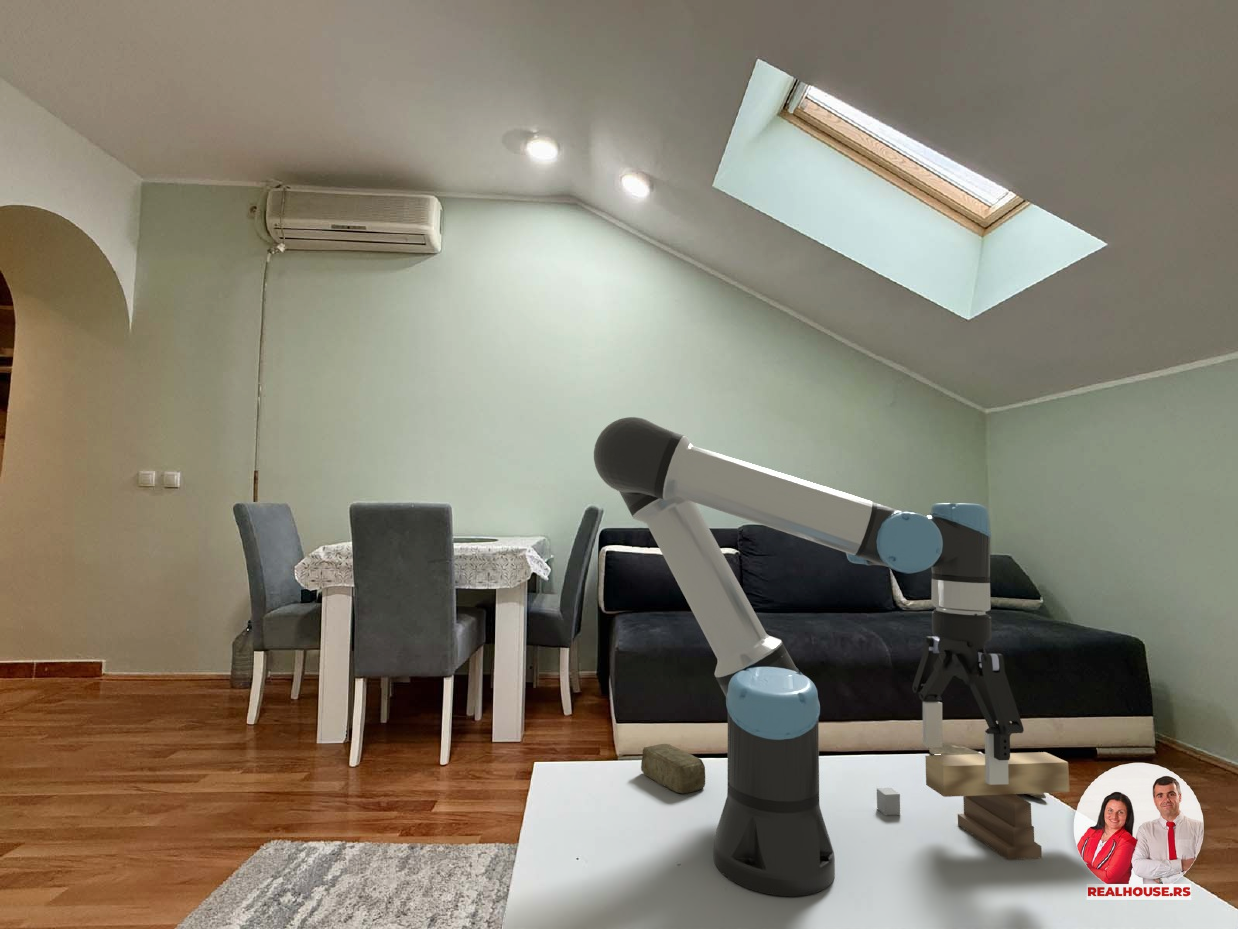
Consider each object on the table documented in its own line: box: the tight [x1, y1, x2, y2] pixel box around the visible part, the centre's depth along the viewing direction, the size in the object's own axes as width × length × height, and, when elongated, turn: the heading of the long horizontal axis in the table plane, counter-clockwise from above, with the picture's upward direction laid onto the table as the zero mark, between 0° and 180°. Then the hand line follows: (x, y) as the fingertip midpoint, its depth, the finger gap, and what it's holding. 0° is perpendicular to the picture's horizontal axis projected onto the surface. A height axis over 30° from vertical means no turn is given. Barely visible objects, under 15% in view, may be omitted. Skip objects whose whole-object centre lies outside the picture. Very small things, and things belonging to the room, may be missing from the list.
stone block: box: [640, 743, 706, 795], centre depth 108 cm, size 6×12×5 cm, turn 35°
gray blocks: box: [876, 787, 901, 816], centre depth 99 cm, size 17×2×3 cm, turn 97°
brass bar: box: [925, 751, 1070, 798], centre depth 90 cm, size 19×4×4 cm, turn 97°
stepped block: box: [957, 794, 1043, 861], centre depth 90 cm, size 5×10×7 cm, turn 8°
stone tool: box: [927, 741, 1047, 799], centre depth 115 cm, size 11×3×25 cm
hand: (962, 764), depth 90 cm, fingers open, 13 cm apart
